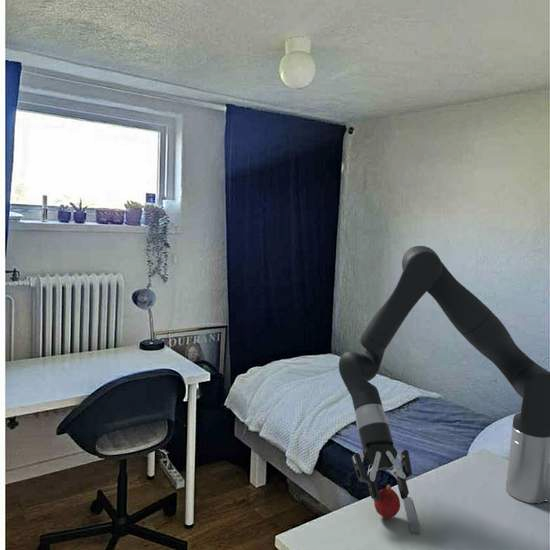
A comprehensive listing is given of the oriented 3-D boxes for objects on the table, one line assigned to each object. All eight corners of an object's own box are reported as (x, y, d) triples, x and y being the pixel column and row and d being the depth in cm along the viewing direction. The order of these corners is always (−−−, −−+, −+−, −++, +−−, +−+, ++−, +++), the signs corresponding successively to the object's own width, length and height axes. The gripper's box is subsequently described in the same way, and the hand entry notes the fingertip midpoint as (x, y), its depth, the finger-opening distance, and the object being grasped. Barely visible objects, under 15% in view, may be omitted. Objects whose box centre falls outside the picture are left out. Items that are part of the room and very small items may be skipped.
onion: (399, 528, 109) (402, 494, 109) (373, 523, 111) (375, 490, 110) (398, 513, 115) (401, 481, 114) (373, 509, 116) (375, 477, 115)
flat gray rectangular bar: (410, 498, 121) (411, 497, 121) (420, 534, 107) (420, 532, 107) (402, 497, 121) (402, 496, 121) (411, 533, 108) (411, 531, 108)
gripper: (350, 422, 116) (367, 497, 106) (405, 419, 119) (427, 492, 109) (341, 433, 122) (356, 506, 112) (394, 430, 125) (413, 501, 115)
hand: (391, 498), depth 110 cm, fingers open, 6 cm apart
